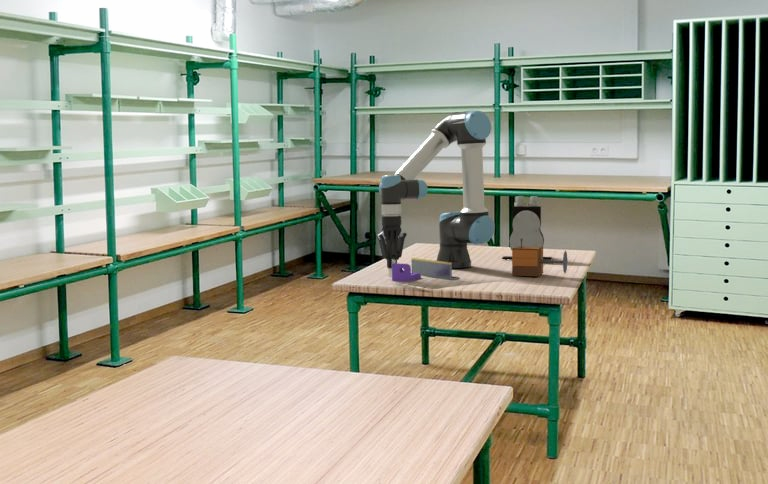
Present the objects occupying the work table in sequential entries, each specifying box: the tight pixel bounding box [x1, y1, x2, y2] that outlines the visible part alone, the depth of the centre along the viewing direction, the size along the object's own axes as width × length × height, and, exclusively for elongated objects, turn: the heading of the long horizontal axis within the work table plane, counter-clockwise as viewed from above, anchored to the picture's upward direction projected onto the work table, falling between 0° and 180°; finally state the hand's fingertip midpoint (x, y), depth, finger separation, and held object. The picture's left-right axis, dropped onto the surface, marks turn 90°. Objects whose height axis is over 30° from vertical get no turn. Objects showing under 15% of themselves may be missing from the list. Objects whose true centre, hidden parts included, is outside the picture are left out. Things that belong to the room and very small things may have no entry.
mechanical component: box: [501, 195, 553, 260], centre depth 390 cm, size 22×21×30 cm
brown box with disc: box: [511, 239, 568, 277], centre depth 342 cm, size 11×20×14 cm, turn 67°
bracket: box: [391, 262, 422, 283], centre depth 331 cm, size 12×7×7 cm, turn 155°
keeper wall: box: [411, 257, 461, 281], centre depth 339 cm, size 5×24×7 cm, turn 36°
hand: (392, 276), depth 331 cm, fingers closed
